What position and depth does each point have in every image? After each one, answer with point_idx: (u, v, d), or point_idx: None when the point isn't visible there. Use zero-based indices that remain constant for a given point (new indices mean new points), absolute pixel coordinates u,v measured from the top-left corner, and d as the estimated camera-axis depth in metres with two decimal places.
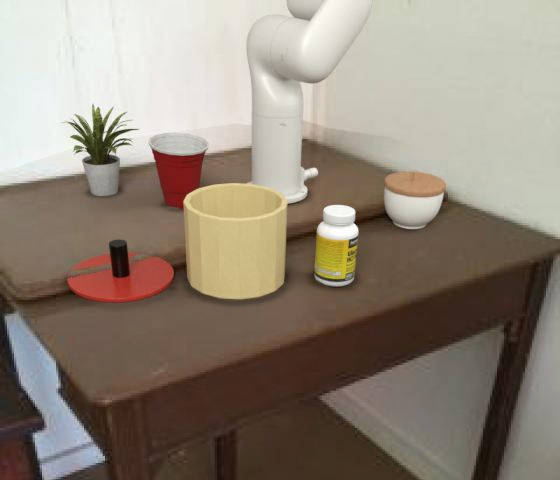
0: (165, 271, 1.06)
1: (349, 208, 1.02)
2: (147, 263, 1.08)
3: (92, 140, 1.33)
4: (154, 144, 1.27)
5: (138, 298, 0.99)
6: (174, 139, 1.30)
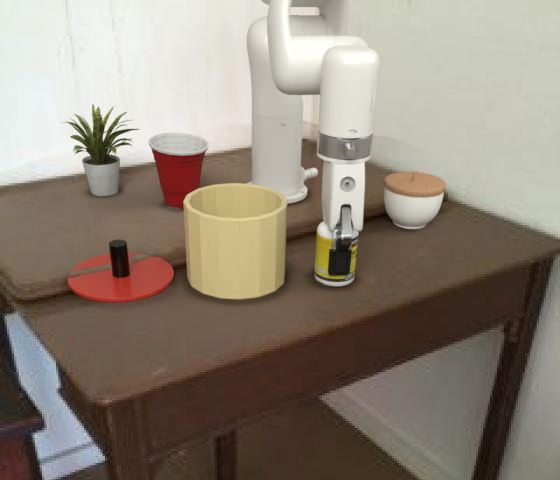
0: (165, 271, 1.06)
1: None
2: (147, 263, 1.08)
3: (92, 140, 1.33)
4: (154, 144, 1.27)
5: (138, 298, 0.99)
6: (174, 139, 1.30)
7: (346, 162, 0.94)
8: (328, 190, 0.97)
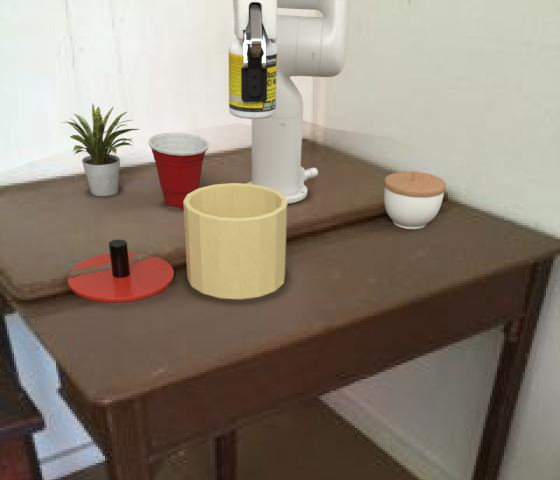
0: (165, 271, 1.06)
1: None
2: (147, 263, 1.08)
3: (92, 140, 1.33)
4: (154, 144, 1.27)
5: (138, 298, 0.99)
6: (174, 139, 1.30)
7: None
8: None
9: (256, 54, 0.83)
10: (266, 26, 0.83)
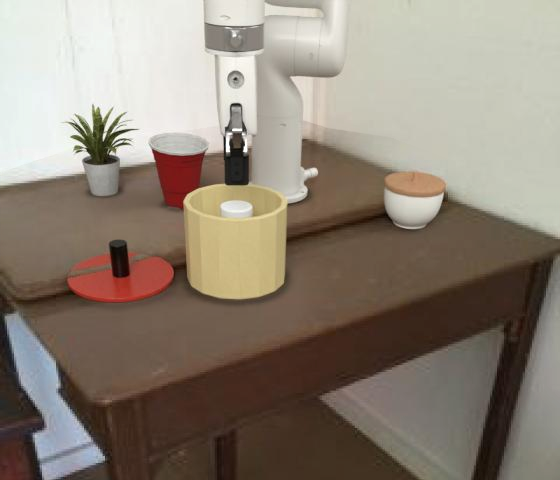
0: (165, 271, 1.06)
1: (246, 204, 1.02)
2: (147, 263, 1.08)
3: (92, 140, 1.33)
4: (154, 144, 1.27)
5: (138, 298, 0.99)
6: (174, 139, 1.30)
7: (233, 54, 0.86)
8: (217, 88, 0.88)
9: (237, 146, 0.88)
10: (246, 116, 0.89)
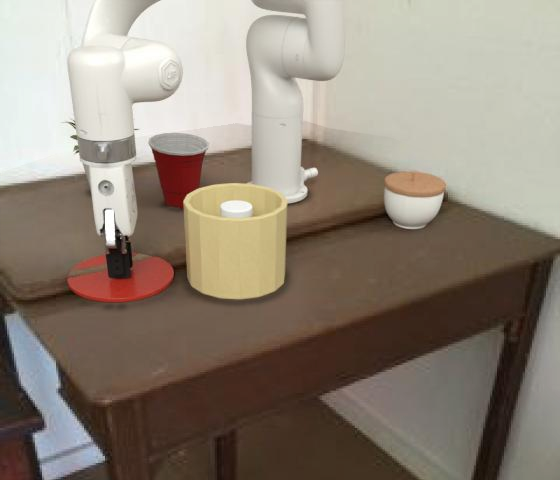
0: (165, 271, 1.06)
1: (246, 204, 1.02)
2: (147, 263, 1.08)
3: None
4: (154, 144, 1.27)
5: (138, 298, 0.99)
6: (174, 139, 1.30)
7: (103, 165, 0.92)
8: None
9: None
10: (121, 231, 0.96)
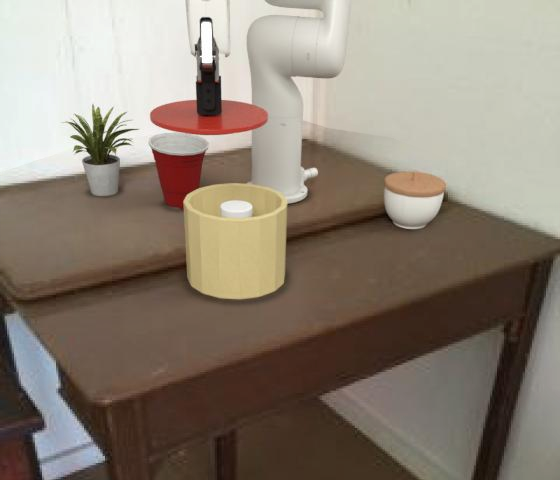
0: (258, 112, 0.94)
1: (246, 204, 1.02)
2: (236, 106, 0.96)
3: (92, 140, 1.33)
4: (154, 144, 1.27)
5: (234, 131, 0.87)
6: (174, 139, 1.30)
7: None
8: (186, 2, 0.83)
9: None
10: (218, 49, 0.84)
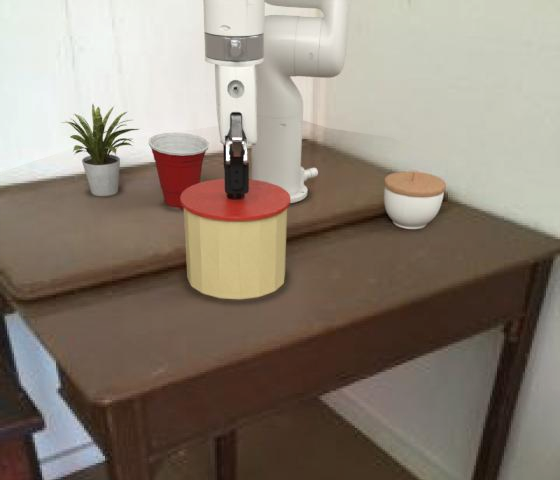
0: (280, 194, 1.01)
1: None
2: (259, 187, 1.03)
3: (92, 140, 1.33)
4: (154, 144, 1.27)
5: (260, 217, 0.94)
6: (174, 139, 1.30)
7: (233, 64, 0.86)
8: (217, 97, 0.89)
9: (237, 154, 0.89)
10: (246, 125, 0.89)
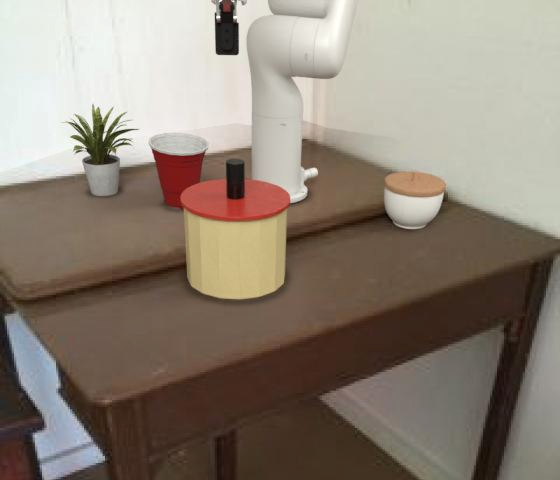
0: (280, 194, 1.01)
1: None
2: (259, 187, 1.03)
3: (92, 140, 1.33)
4: (154, 144, 1.27)
5: (260, 217, 0.94)
6: (174, 139, 1.30)
7: None
8: None
9: (227, 8, 0.91)
10: None
